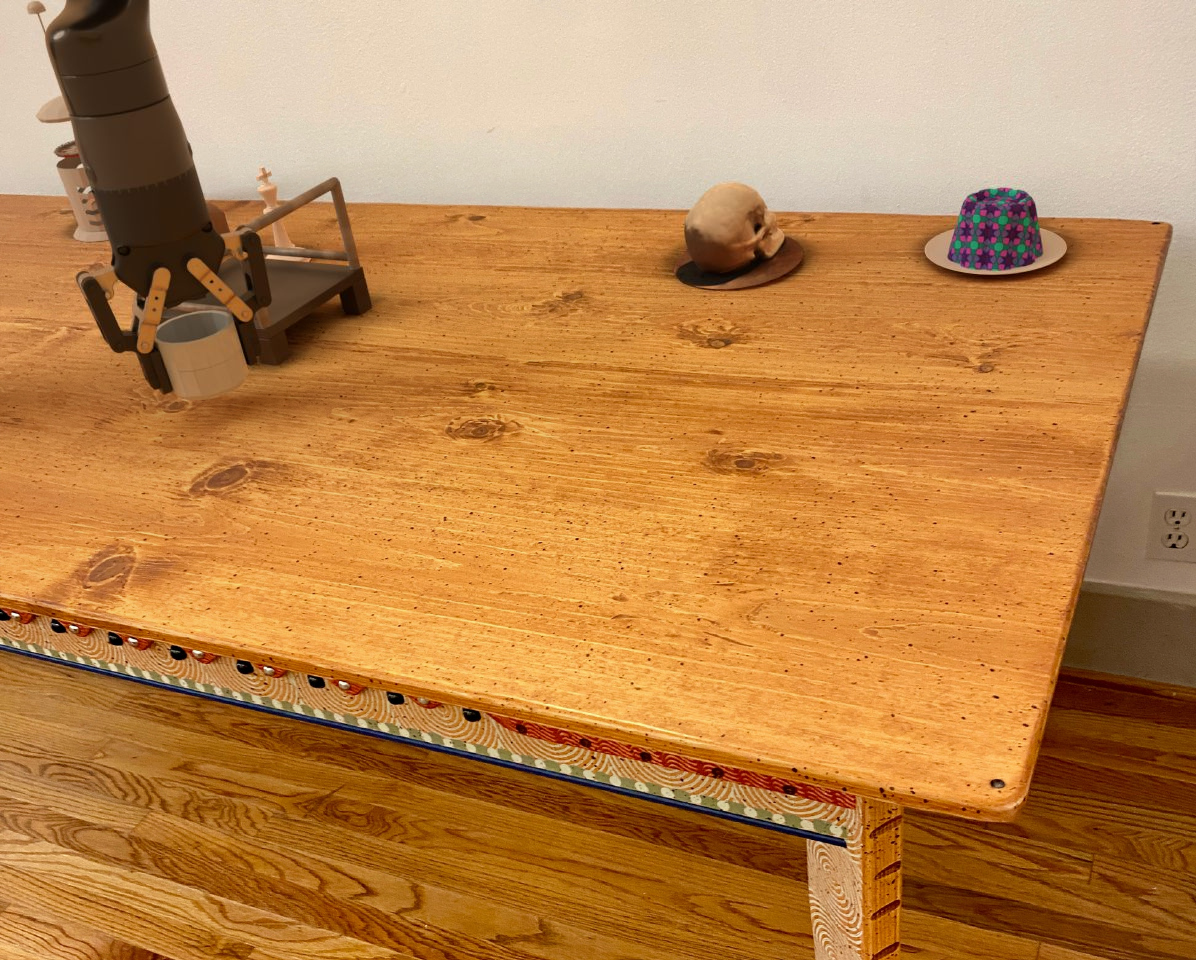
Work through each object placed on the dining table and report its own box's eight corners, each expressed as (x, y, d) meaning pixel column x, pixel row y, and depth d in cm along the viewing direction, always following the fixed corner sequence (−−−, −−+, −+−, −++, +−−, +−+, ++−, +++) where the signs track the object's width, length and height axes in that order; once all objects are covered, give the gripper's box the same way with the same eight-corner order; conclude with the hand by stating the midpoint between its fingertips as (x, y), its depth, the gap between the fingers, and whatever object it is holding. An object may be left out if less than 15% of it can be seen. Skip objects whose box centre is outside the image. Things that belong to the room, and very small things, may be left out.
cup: (154, 397, 97) (133, 339, 94) (208, 362, 101) (190, 306, 98) (213, 407, 94) (194, 348, 91) (266, 372, 99) (250, 314, 96)
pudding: (1077, 235, 109) (1084, 176, 106) (1050, 287, 100) (1057, 226, 97) (943, 227, 114) (946, 171, 111) (908, 277, 106) (910, 218, 103)
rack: (147, 353, 112) (99, 222, 105) (246, 293, 122) (208, 169, 115) (279, 371, 105) (237, 232, 98) (372, 306, 115) (340, 175, 108)
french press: (60, 232, 146) (-27, 8, 131) (147, 202, 152) (73, -15, 137) (93, 247, 140) (5, 14, 125) (183, 216, 146) (109, -11, 131)
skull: (737, 217, 119) (784, 151, 110) (789, 304, 118) (842, 244, 109) (640, 250, 114) (681, 183, 105) (694, 341, 113) (740, 281, 104)
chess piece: (255, 268, 128) (227, 173, 122) (289, 251, 131) (263, 158, 125) (287, 274, 125) (259, 177, 119) (320, 256, 128) (295, 161, 122)
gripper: (219, 134, 93) (275, 335, 103) (29, 182, 87) (108, 389, 97) (251, 153, 87) (307, 363, 97) (51, 205, 82) (132, 422, 92)
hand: (207, 375), depth 97 cm, fingers closed on cup, 6 cm apart
